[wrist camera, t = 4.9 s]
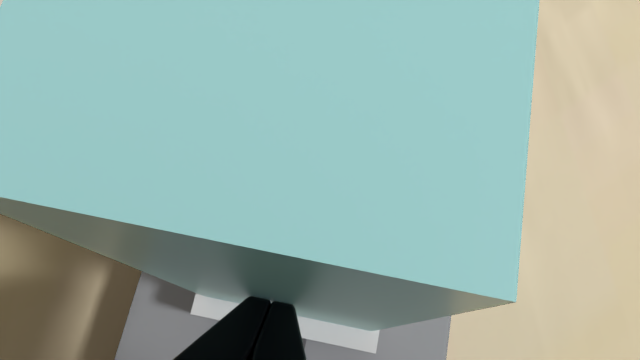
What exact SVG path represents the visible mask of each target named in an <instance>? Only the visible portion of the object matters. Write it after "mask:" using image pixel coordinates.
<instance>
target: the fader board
mask: <svg viewBox="0 0 640 360" xmlns="http://www.w3.org/2000/svg"><path fill="white" fill-rule="evenodd" d="M195 295H196V293H195V292H192V291H190V290H187V289H185V288H182V287H180V286H177V285H175V284H172V283H170V282H167V281H165V280H163V279H160V278H158V277H155V276H153V275H150V274H148V273H145V272H143V271H142V273H141V276H140V279H139V282H138V285H137V289H136V292H135V295H134V298H133V301H132V305H131V308H130V311H129V314H128V317H127V321H126V324H125V327H124V330H123V333H122V337H121V340H120V343H119V346H118V349H117V353H116V356H115V359H114V360H173V359H174V358H175V357H176V356H177V355H179V354H180V353H181V352H182V351H183V350H185V349H186V348H187V347H188V346H189V345H191V344H192V343H193V342H194V341H195V340H197V339H198V338H199V337H200V336H202V335H203V334H204V333H205V332H206V331H208V330H209V329H210V328H211V327H212V326H214V325H215V324H216V323H217V322H218V321H220V320H216V319H211V318H206V317H201V316H197V315H192V314H190V313H191V309H192V306H193V302H194V298H195ZM450 321H451V315H450V316H445V317H440V318H435V319H430V320H425V321H420V322H415V323H411V324H406V325H401V326H396V327H391V328H386V329H381V330H380V331H379V337H378V343H377V350H376V354H375V353H370V352H366V351H361V350H356V349H351V348H347V347H342V346H337V345H333V344H328V343H323V342H319V341H314V340H309V339H305V338H302V341H303V346H304V350H305V355H306V359H307V360H446V356H447V347H448V339H449V330H450Z"/></svg>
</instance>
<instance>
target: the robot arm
mask: <svg viewBox="0 0 640 360" xmlns="http://www.w3.org/2000/svg"><path fill="white" fill-rule="evenodd" d="M173 360H307V359H306V355H305V350H304V346H303V341H302V337H301V332H300V328H299V323H298V319H297V314H296V309H295V307H294V305H292V304H288V303H283V302H278V301H273V302H272V303H271V301H270V300H268V299H264V298H259V297H254V296H249V297H247V298H246V299H245V300H244V301H242V302H241V303H240V304H239V305H238V306H236V307H235V308H234V309H233V310H232V311H230V312H229V313H228V314H227V315H226V316H224V317H223V318H222V319H221V320H220V321H218V322H217V323H216V324H215V325H214V326H212V327H211V328H210V329H209V330H208V331H206V332H205V333H204V334H203V335H202V336H200V337H199V338H198V339H197V340H195V341H194V342H193V343H192V344H191V345H189V346H188V347H187V348H186V349H185V350H183V351H182V352H181V353H180V354H179V355H177V356H176V357H175V358H174V359H173Z"/></svg>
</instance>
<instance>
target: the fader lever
mask: <svg viewBox="0 0 640 360" xmlns="http://www.w3.org/2000/svg"><path fill="white" fill-rule="evenodd" d="M538 11H539V0H3V3H2V4H1V7H0V214H2V215H5V216H7V217H9V218H12V219H14V220H17V221H19V222H22V223H24V224H27V225H29V226H32V227H34V228H37V229H39V230H42V231H44V232H47V233H49V234H51V235H54V236H56V237H59V238H61V239H64V240H66V241H69V242H71V243H74V244H76V245H79V246H81V247H84V248H86V249H88V250H91V251H93V252H96V253H98V254H101V255H103V256H106V257H108V258H111V259H113V260H116V261H118V262H121V263H123V264H125V265H128V266H130V267H133V268H135V269H138V270H140V271H143V272H145V273H148V274H150V275H153V276H155V277H158V278H160V279H163V280H165V281H167V282H170V283H172V284H175V285H177V286H180V287H182V288H185V289H187V290H190V291H192V292H195V293H196V295H195V298H194V302H193V306H192V309H191V313H190V314H192V315H197V316H201V317H206V318H211V319H216V320H221V319H222V318H223V317H224V316H226V315H227V314H228V313H229V312H230V311H232V310H233V309H234V308H235V307H236V306H238V305H239V304H240V303H241V302H242V301H244V300H245V299H246V298H247V297H249V296H254V297H259V298H264V299H268V300H270V301H271V303H272V302H273V301H278V302H283V303H288V304H292V305H294V307H295V309H296V314H297V319H298V323H299V328H300V332H301V337H302V338H305V339H309V340H314V341H319V342H323V343H328V344H333V345H337V346H342V347H347V348H351V349H356V350H361V351H366V352H370V353H375V354H376V350H377V343H378V337H379V331H380V330H381V329H386V328H391V327H396V326H401V325H406V324H411V323H415V322H420V321H425V320H430V319H435V318H440V317H445V316H450V315H455V314H460V313H465V312H470V311H475V310H480V309H485V308H490V307H495V306H500V305H505V304H510V303H515V302H516V296H517V283H518V270H519V257H520V244H521V231H522V218H523V205H524V192H525V180H526V167H527V154H528V141H529V128H530V115H531V102H532V89H533V76H534V63H535V50H536V37H537V24H538Z"/></svg>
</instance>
